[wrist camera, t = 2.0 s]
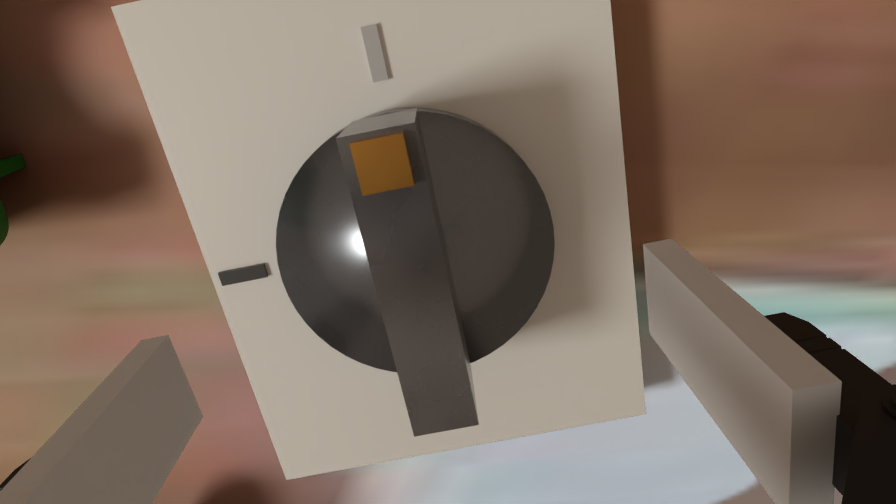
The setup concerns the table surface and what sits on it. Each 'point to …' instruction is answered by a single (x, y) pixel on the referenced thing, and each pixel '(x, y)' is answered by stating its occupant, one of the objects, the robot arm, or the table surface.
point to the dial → (416, 252)
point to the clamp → (3, 168)
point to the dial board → (372, 91)
